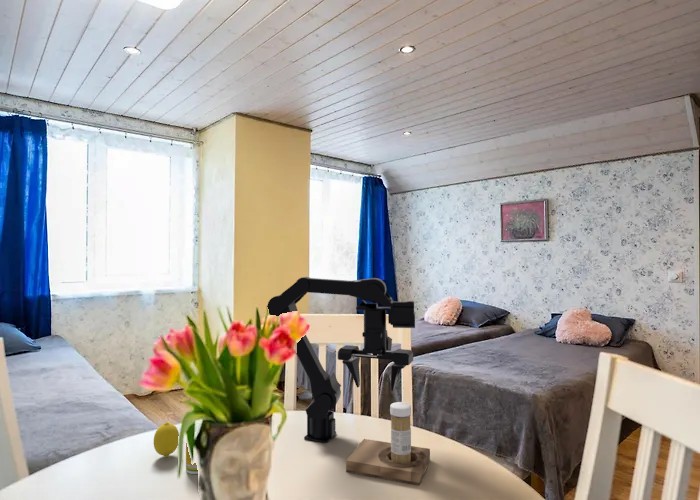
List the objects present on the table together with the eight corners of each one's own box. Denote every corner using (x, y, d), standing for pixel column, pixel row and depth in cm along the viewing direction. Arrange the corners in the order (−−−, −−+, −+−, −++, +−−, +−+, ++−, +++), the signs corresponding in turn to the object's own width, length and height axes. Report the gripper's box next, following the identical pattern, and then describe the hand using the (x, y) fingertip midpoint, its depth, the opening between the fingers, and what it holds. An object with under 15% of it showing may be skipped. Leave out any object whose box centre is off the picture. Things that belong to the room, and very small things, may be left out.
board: (346, 471, 94) (346, 460, 94) (364, 449, 106) (364, 438, 106) (420, 485, 89) (420, 473, 89) (431, 459, 100) (430, 448, 100)
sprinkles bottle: (407, 460, 99) (406, 400, 99) (414, 469, 94) (414, 407, 94) (387, 462, 98) (387, 402, 98) (394, 472, 93) (394, 408, 93)
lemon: (148, 460, 100) (148, 425, 100) (164, 450, 105) (164, 417, 105) (168, 463, 98) (168, 428, 99) (184, 453, 104) (184, 419, 104)
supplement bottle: (203, 475, 93) (203, 430, 93) (180, 473, 94) (180, 428, 94) (216, 464, 98) (216, 420, 98) (194, 462, 99) (194, 419, 99)
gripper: (417, 324, 116) (418, 383, 115) (351, 321, 122) (352, 377, 122) (407, 331, 105) (408, 396, 105) (336, 327, 112) (336, 388, 111)
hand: (375, 388), depth 111 cm, fingers open, 9 cm apart
